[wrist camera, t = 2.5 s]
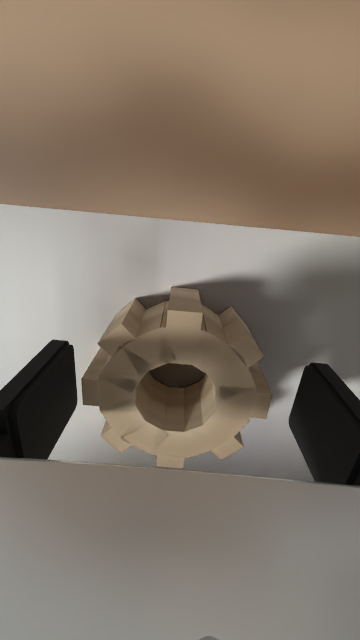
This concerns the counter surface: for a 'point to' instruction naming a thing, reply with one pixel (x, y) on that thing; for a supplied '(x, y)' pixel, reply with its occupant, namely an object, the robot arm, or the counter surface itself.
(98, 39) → the gear board
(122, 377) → the wooden gear
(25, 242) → the counter surface
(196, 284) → the counter surface
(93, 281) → the counter surface
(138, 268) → the counter surface
